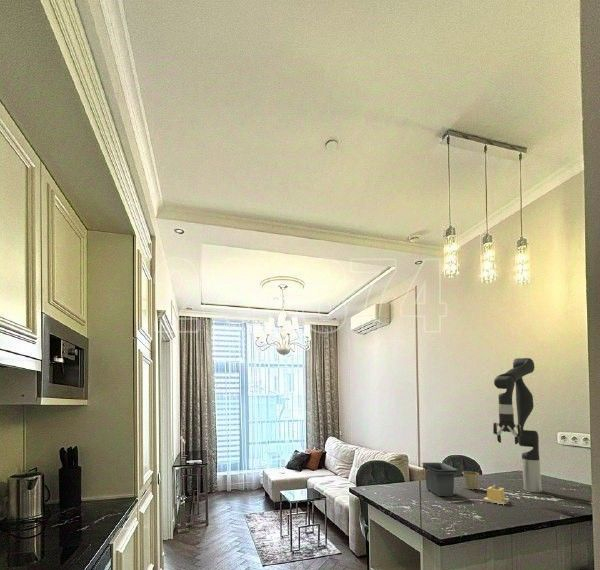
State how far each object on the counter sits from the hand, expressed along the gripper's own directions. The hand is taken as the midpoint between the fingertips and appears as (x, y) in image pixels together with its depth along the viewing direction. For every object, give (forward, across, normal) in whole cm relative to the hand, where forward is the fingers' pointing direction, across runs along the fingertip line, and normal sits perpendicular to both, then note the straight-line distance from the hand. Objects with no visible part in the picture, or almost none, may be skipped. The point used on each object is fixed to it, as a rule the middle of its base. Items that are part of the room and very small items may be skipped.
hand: (507, 443), depth 264 cm
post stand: (+28, +3, +16) cm, 32 cm away
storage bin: (+28, +33, +20) cm, 47 cm away
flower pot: (+28, +23, -4) cm, 37 cm away
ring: (+26, +3, +16) cm, 31 cm away
